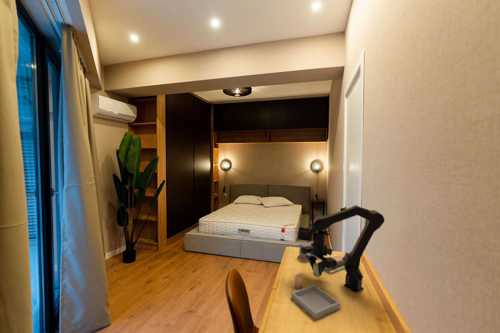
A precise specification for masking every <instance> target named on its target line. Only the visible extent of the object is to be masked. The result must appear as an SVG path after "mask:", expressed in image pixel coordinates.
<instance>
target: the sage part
mask: <svg viewBox="0 0 500 333" xmlns="http://www.w3.org/2000/svg"><path fill="white" fill-rule="evenodd" d="M318 263H319V262H316V263H314V264H313V270H312V275H313V276H314V277H317V278H320V277H322V275H319V269H318Z"/></svg>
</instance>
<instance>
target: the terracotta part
mask: <svg viewBox="0 0 500 333" xmlns="http://www.w3.org/2000/svg"><path fill="white" fill-rule="evenodd" d="M304 279H305V278H304V275H302V274H298V273H297V274H295V275H294V288H295V289H296V290H300V289H303V288H304V283H305V282H304V281H305V280H304Z"/></svg>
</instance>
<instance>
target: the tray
mask: <svg viewBox="0 0 500 333" xmlns="http://www.w3.org/2000/svg"><path fill="white" fill-rule="evenodd" d="M290 293H291V295H290V296H291V297H290V298H291V300H292V301H293V302H295V304H297V305H298V306H299V307H300V308H301V309H302V311H304V312H305V313H306V314H308V315H309V316H310V317H311V318H312V319H313V320H314V321H317V320H319V319H321V318H323V317H325V316H328V315H330V314H332V313H335V312H337V311H339V310H341V302H340V301H339V300H337V299H335V297H333V296H331V295H330V294H329V293H327V292H326V291H325V290H323V289H322V288H320V286H317V285H316V284H312V285H309V286H307V287H303V289H296V290H295V291H292V292H290Z"/></svg>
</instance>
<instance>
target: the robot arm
mask: <svg viewBox="0 0 500 333" xmlns="http://www.w3.org/2000/svg"><path fill="white" fill-rule="evenodd" d="M357 216H358V217H361V218H363V219H364V220H365V221H364V226H363V228H362V231H361V232H360V234H359V236H358V238H357V240H356V242H355V244H354V246H353V248H352V250H351V251H350V252H347V251H345V254H344V256H342V257H343V264H344V267H345V269H344V270H345V272H346V274H345V278H344V279H345V280H344V284H343V286H344V287H345V288H347V289H349V290H350V291H352V292H353V293H358V292H360V291H362V290H365V289H364V287H362V285H363V278H364V275H363V273H362V272H361V269H360V264H361V258H362V256H363V254H364V252H365V250H366V248H367V246H368V244H369V242H370V240H371V238H372V237H373V236H374V234H375V232H376V231H377V230H379V229H380V228H381V227H382V225H383V224H384V223H385V217H384V216H383V214H382V213H380V212H379V211H377V210H375V209H371V210H370V209H367V208H363V207H361V206H359V205H357V204H355V205H353V206H351V207H348V208H345V209H343V210H340V211H337V212H335V213H331V214H328V215H325V214H324V215H318V216H315V217H314V219H313V223H311V224H310V226H309V227H307V226H302V225H300V226H298V232H297V240H299V241H304V242H310V241H311V240H312V241H313V243H311V246H313V248H312V247H310V246H306V247H302V249H301V253H303V254H306V253H307V255H306V257H307V258H308V260H309V261H308V262H309V265H310V266H311V267H310V268H311V269H312V271H313V264H314V263H318V269H319V275H321V276H322V274H323V273H324V268H325V267H327V268H332V267H335V266H337V261H336V260H335V259H333V258H331V256H332V254H333V248H331V247H328V246H327V244H326V243H325V242H326V236H330V232H329V231H328V230H327V229H328V228H330V227H331V226H332V225H333V224H336V223H339V222H342V221H344V220H347V219H350V218H353V217H357ZM328 255H329V257H327V256H328ZM317 258H318V259H317ZM317 260H320V262H317Z"/></svg>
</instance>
